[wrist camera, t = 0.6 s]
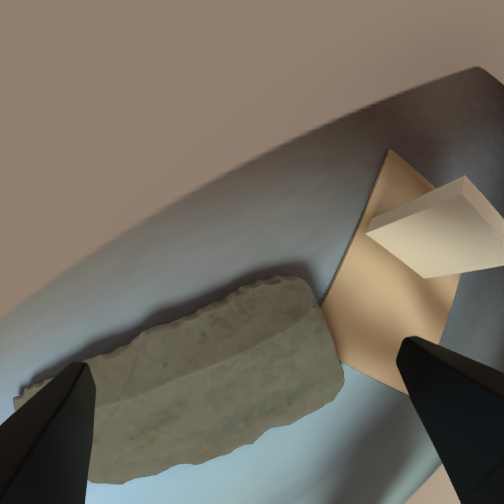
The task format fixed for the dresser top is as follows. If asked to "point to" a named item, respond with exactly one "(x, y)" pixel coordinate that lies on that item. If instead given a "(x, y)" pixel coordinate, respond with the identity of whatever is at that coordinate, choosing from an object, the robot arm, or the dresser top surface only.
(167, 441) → the stone slab
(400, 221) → the glazed tile
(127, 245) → the dresser top surface
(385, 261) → the tan wooden board
